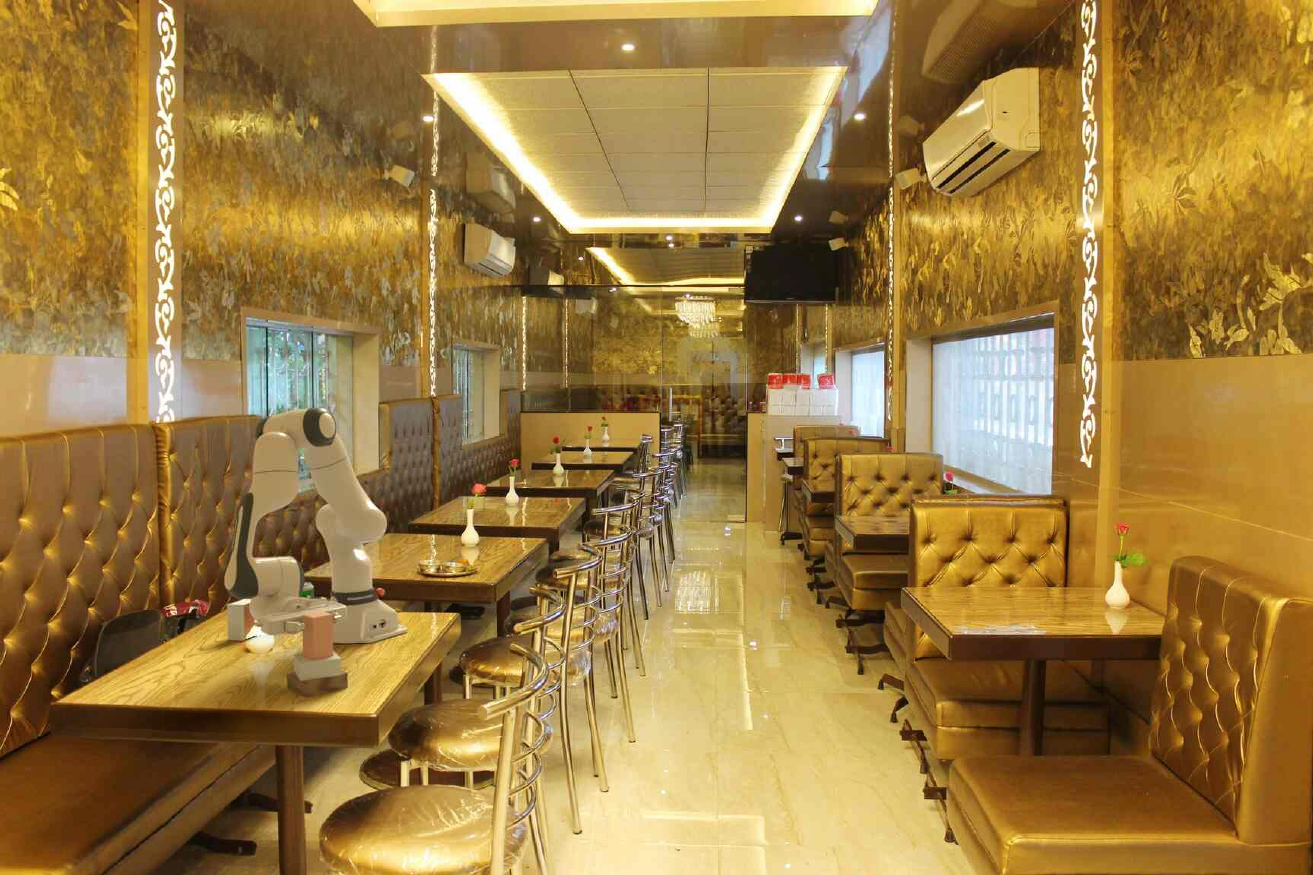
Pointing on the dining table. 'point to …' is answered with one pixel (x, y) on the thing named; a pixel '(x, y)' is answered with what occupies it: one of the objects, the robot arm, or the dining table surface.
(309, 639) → the terracotta block
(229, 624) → the small box
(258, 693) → the dining table surface
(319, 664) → the tower top
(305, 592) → the soda can
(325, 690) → the tower base
